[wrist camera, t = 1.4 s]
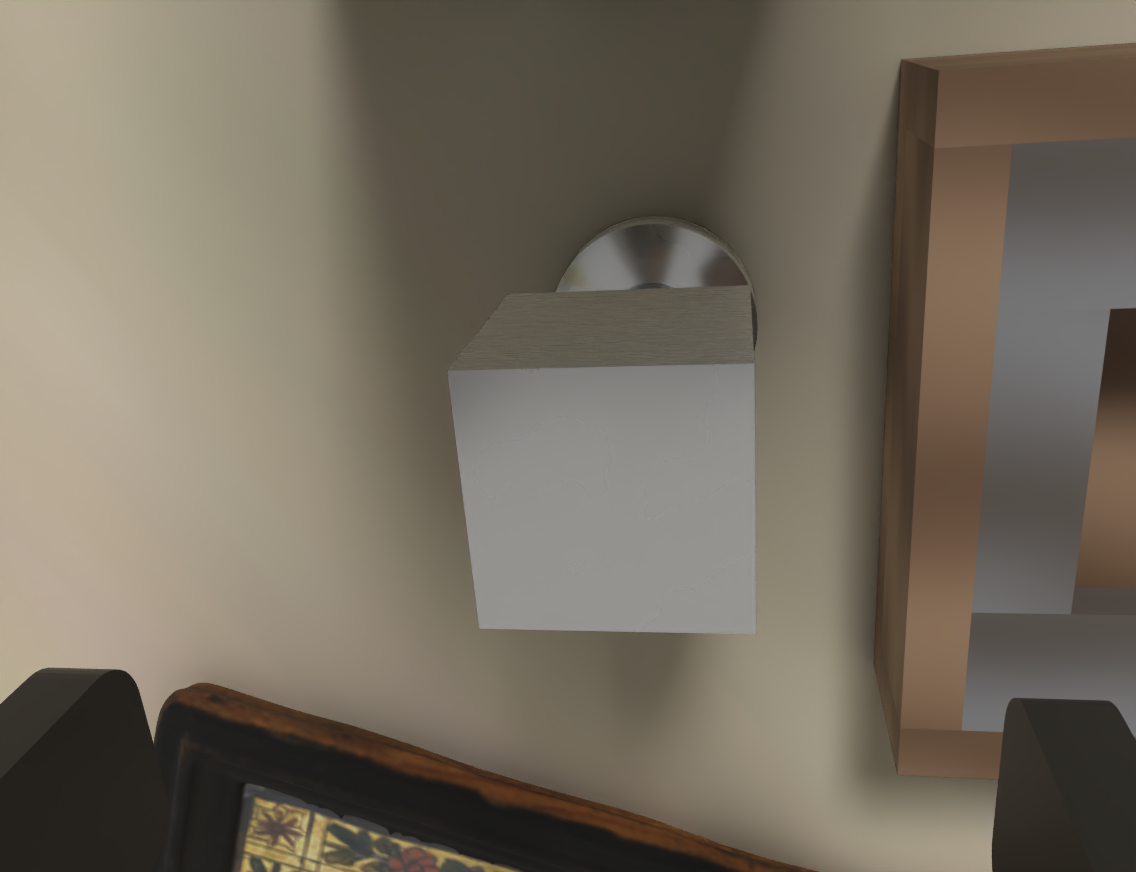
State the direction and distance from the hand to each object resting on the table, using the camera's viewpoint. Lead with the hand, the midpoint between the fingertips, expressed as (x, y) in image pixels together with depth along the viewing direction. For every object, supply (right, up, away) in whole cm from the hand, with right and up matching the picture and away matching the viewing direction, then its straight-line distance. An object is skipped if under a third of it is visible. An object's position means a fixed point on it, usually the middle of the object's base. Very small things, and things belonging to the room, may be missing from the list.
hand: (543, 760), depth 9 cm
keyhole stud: (+2, +6, +13) cm, 15 cm away
